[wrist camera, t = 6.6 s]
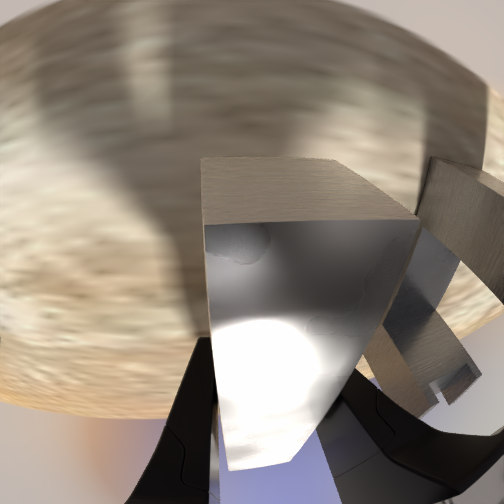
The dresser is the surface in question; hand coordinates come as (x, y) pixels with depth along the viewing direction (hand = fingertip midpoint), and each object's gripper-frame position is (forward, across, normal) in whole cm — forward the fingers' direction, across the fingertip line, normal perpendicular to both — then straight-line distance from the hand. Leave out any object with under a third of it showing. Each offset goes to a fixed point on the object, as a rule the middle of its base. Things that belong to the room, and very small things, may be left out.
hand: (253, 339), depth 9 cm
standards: (+2, -10, 0) cm, 10 cm away
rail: (0, 0, 0) cm, 0 cm away
